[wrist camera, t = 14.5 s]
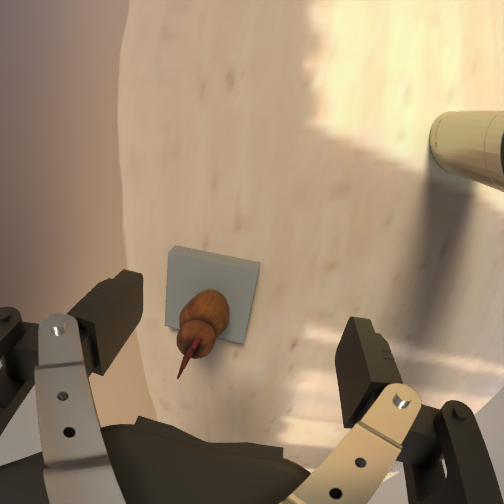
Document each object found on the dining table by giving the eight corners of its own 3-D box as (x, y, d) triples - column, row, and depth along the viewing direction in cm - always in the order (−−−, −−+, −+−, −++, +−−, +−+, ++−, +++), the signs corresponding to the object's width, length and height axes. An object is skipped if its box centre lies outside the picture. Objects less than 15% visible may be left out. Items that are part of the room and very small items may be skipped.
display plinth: (260, 262, 47) (258, 271, 44) (245, 332, 52) (243, 343, 49) (175, 245, 47) (168, 252, 45) (170, 315, 52) (164, 325, 49)
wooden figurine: (207, 325, 48) (181, 394, 35) (182, 298, 47) (146, 363, 33) (240, 304, 46) (223, 374, 33) (215, 275, 45) (187, 339, 31)
